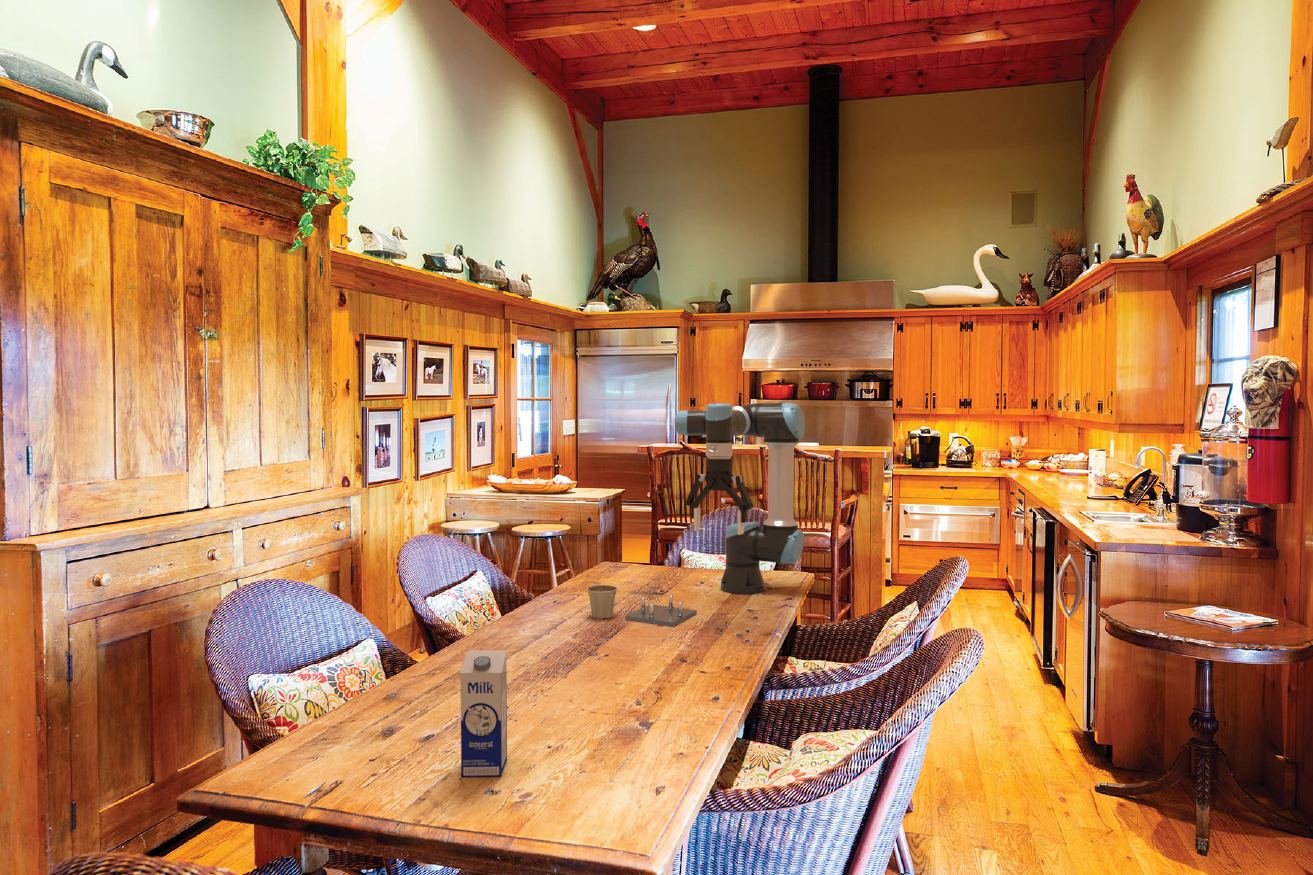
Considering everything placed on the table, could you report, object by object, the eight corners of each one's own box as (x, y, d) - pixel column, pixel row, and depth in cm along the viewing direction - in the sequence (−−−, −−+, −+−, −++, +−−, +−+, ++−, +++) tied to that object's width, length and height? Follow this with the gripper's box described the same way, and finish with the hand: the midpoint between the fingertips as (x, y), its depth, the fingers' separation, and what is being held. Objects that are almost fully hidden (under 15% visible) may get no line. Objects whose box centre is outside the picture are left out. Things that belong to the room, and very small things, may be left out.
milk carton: (508, 759, 142) (507, 648, 141) (502, 776, 135) (501, 660, 134) (468, 759, 142) (467, 649, 141) (460, 777, 135) (459, 661, 134)
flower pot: (616, 620, 235) (616, 591, 234) (585, 620, 235) (585, 591, 235) (618, 612, 244) (618, 584, 244) (588, 612, 244) (588, 584, 244)
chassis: (650, 607, 250) (650, 591, 250) (696, 614, 243) (696, 597, 242) (625, 619, 236) (625, 602, 236) (673, 626, 228) (673, 608, 228)
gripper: (673, 457, 228) (673, 530, 229) (755, 459, 216) (754, 537, 217) (685, 455, 235) (685, 527, 235) (765, 458, 222) (764, 533, 223)
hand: (718, 532), depth 226 cm, fingers open, 13 cm apart
